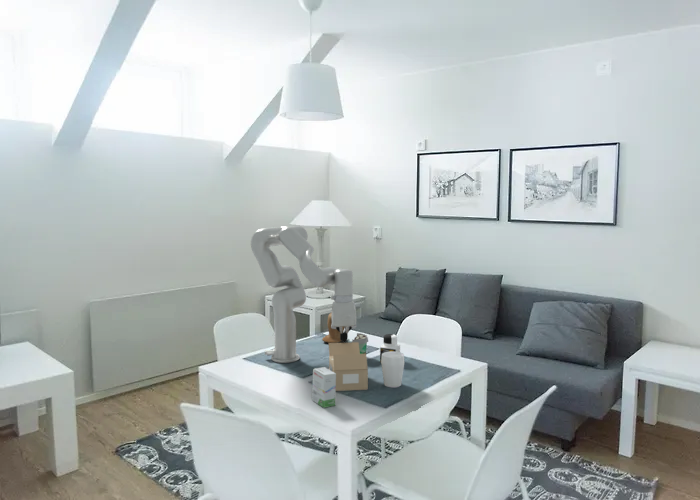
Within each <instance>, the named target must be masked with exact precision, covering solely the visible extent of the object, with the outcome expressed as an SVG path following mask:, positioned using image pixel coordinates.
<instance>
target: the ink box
mask: <svg viewBox="0 0 700 500" xmlns="http://www.w3.org/2000/svg"><path fill="white" fill-rule="evenodd" d="M311 391H312V395H311V396H312V397H311V401H312V402H314V403H315V404H317V405H319V406H320V407H322V408H324V409H325V408H328V407H333V406H334V407H335V406H336V392H337V391H336V373H334V372H332V371H331V370H329V368H328V367H325V366H322V367H316V368H313V370H312V389H311Z"/></svg>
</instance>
